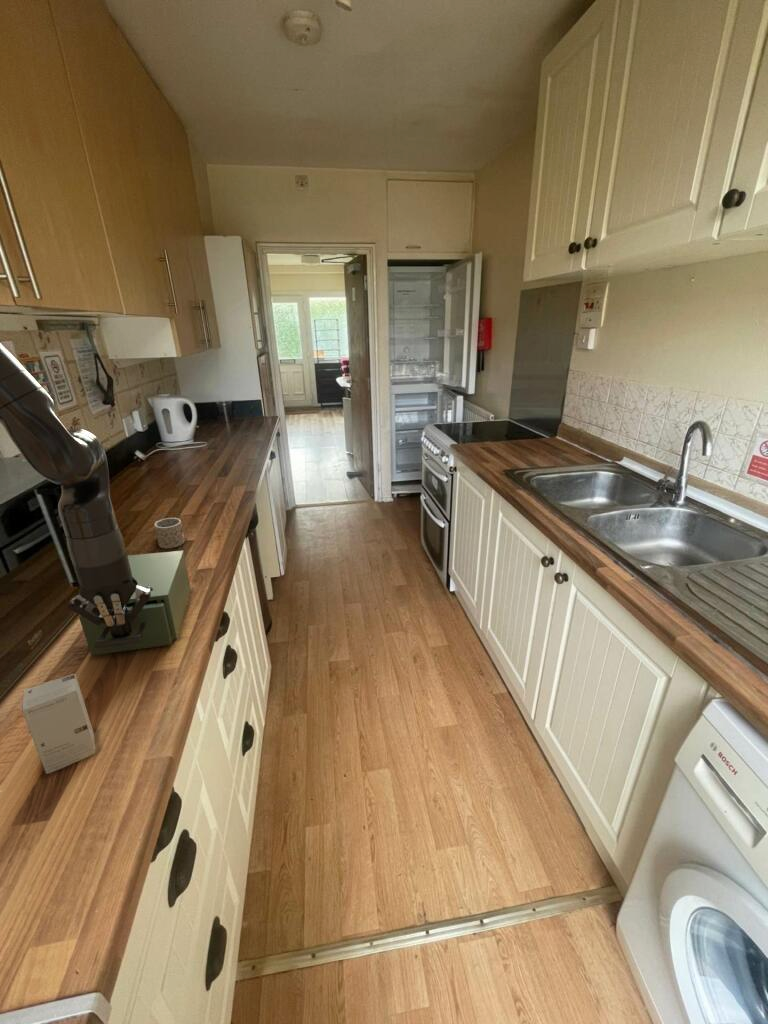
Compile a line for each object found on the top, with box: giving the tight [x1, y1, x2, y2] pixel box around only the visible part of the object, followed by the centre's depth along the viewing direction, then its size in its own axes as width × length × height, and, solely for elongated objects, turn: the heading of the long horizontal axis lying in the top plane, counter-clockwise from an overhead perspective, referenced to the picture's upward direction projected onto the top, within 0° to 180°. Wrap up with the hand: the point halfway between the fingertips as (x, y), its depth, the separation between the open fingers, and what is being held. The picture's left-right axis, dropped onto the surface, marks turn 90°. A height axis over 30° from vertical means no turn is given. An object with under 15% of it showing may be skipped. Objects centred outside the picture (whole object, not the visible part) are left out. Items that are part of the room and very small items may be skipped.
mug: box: [154, 517, 186, 549], centre depth 121 cm, size 10×7×7 cm, turn 57°
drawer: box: [78, 599, 173, 656], centre depth 84 cm, size 22×14×9 cm, turn 14°
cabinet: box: [127, 550, 192, 641], centre depth 89 cm, size 18×15×11 cm
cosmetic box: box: [21, 673, 96, 775], centre depth 60 cm, size 6×4×12 cm
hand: (123, 638), depth 77 cm, fingers closed
